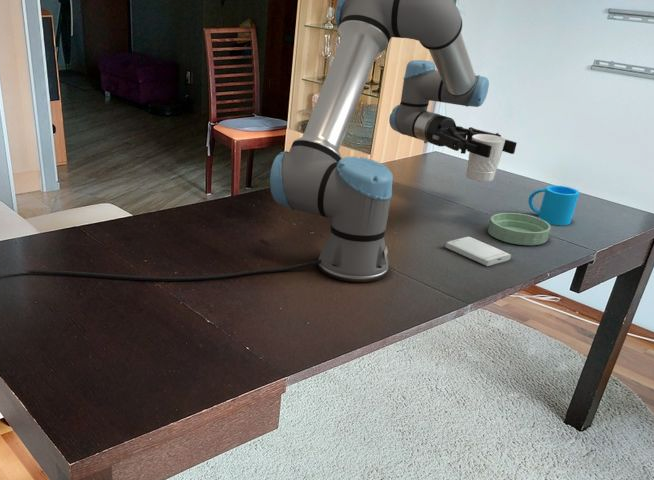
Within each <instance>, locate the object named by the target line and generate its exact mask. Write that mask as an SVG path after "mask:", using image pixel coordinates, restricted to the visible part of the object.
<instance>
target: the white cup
mask: <svg viewBox="0 0 654 480" xmlns="http://www.w3.org/2000/svg"><path fill="white" fill-rule="evenodd" d="M505 139H506V138H504V137H502V136H501V137H499V136H495V135H488V134H477V135H473V136H472V140H474V141H477V142H480V143H484V144H487V145H490V146H492V148H491V152H490V156H489V158H486V157H483V156H480V155H477V154H474V153H471V152H469V153H468V160H467V168H466V174H465V176H466V178H467V179H468V180H472V181H476V182H483V183H484V182H492V181H493V180H494V179H495V177H496V173H497V170H498V167H499V164H500V162H501V161H500V160H501V158H502V154H503V152H504V151H503V147H504V144H505Z"/></svg>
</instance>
